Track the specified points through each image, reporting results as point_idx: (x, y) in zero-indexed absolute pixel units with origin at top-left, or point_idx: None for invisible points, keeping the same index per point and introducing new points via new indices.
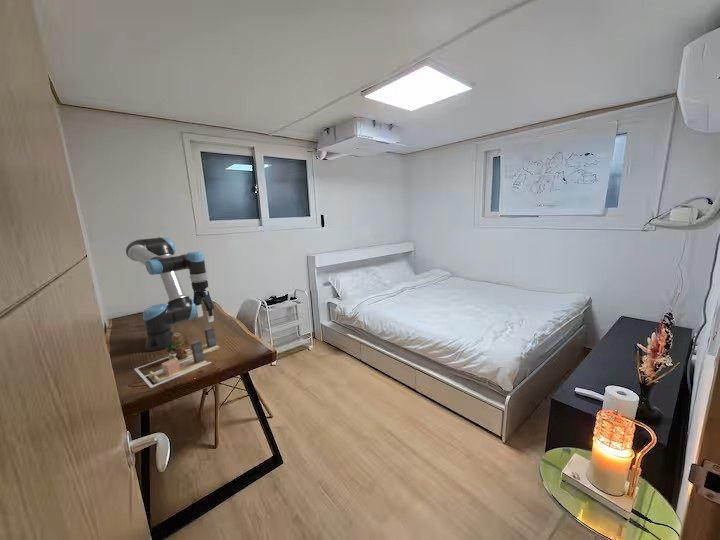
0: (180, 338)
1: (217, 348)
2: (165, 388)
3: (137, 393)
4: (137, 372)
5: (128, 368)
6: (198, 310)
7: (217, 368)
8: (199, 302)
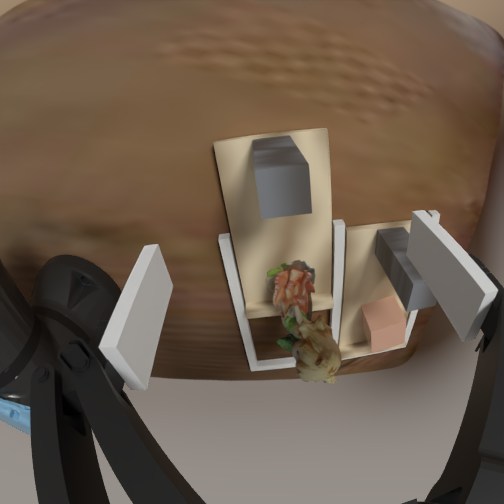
0: (338, 347)
1: (328, 142)
2: (427, 321)
3: (387, 358)
4: (286, 367)
5: (216, 371)
6: (154, 329)
7: (469, 207)
8: (123, 403)
